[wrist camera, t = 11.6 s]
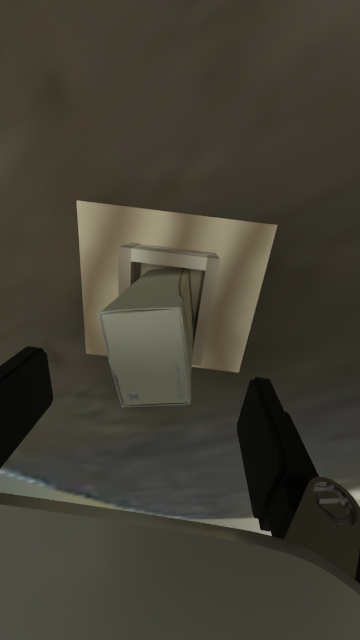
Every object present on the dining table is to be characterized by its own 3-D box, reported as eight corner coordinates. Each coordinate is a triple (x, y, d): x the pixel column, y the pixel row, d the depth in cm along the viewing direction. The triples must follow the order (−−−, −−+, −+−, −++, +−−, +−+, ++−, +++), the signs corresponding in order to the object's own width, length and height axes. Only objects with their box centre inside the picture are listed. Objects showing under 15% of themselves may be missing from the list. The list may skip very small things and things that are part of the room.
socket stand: (273, 225, 21) (296, 225, 16) (236, 366, 28) (246, 396, 23) (82, 201, 21) (50, 195, 16) (90, 348, 28) (69, 374, 23)
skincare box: (194, 323, 24) (194, 408, 13) (153, 326, 25) (120, 411, 13) (189, 263, 22) (185, 306, 11) (144, 267, 22) (94, 313, 11)
